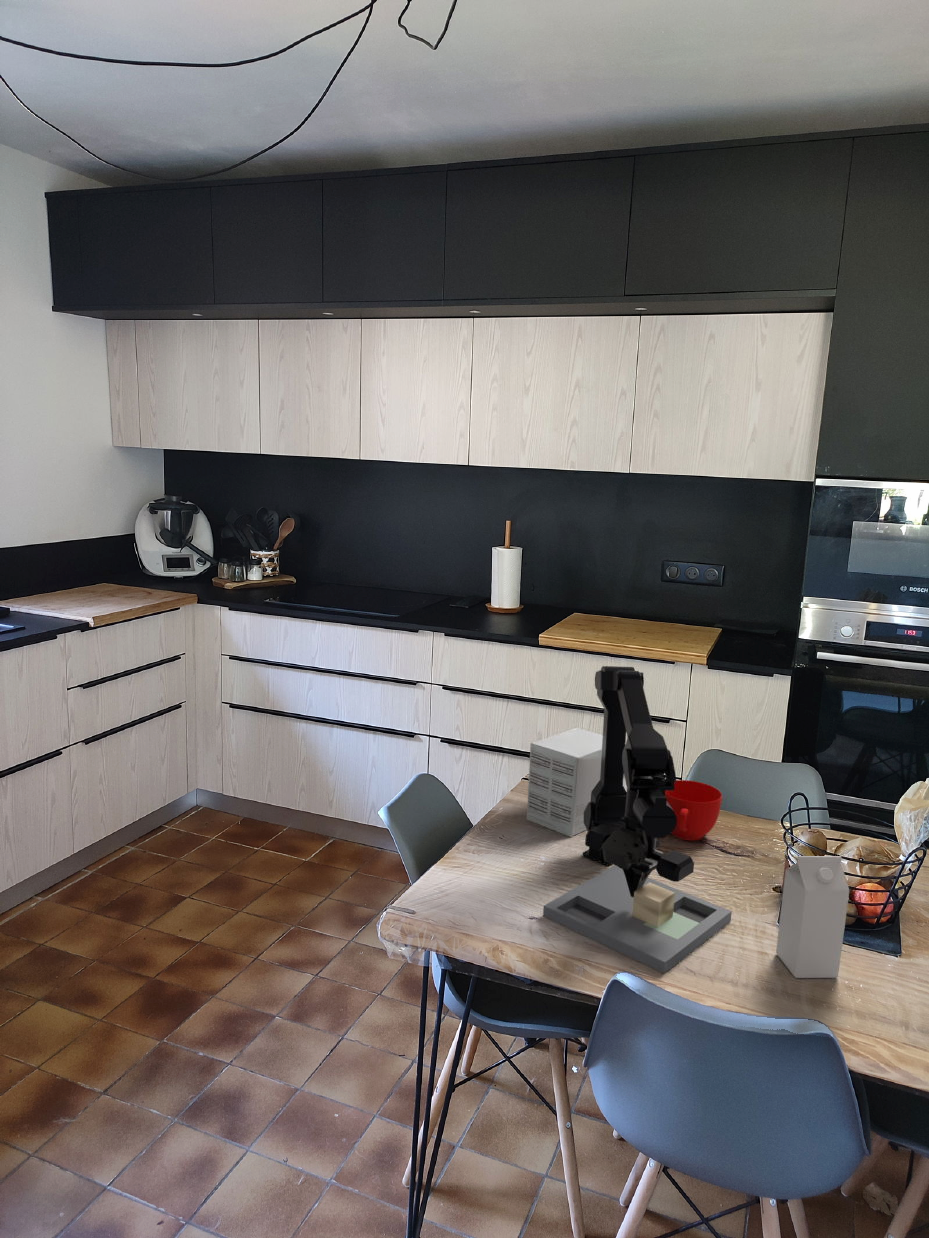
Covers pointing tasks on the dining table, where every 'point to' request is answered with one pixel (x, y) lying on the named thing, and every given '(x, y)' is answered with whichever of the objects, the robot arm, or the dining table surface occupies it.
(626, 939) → the board
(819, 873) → the milk carton
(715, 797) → the ceramic cup
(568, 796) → the supplement box
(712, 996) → the dining table surface
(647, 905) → the maple block
